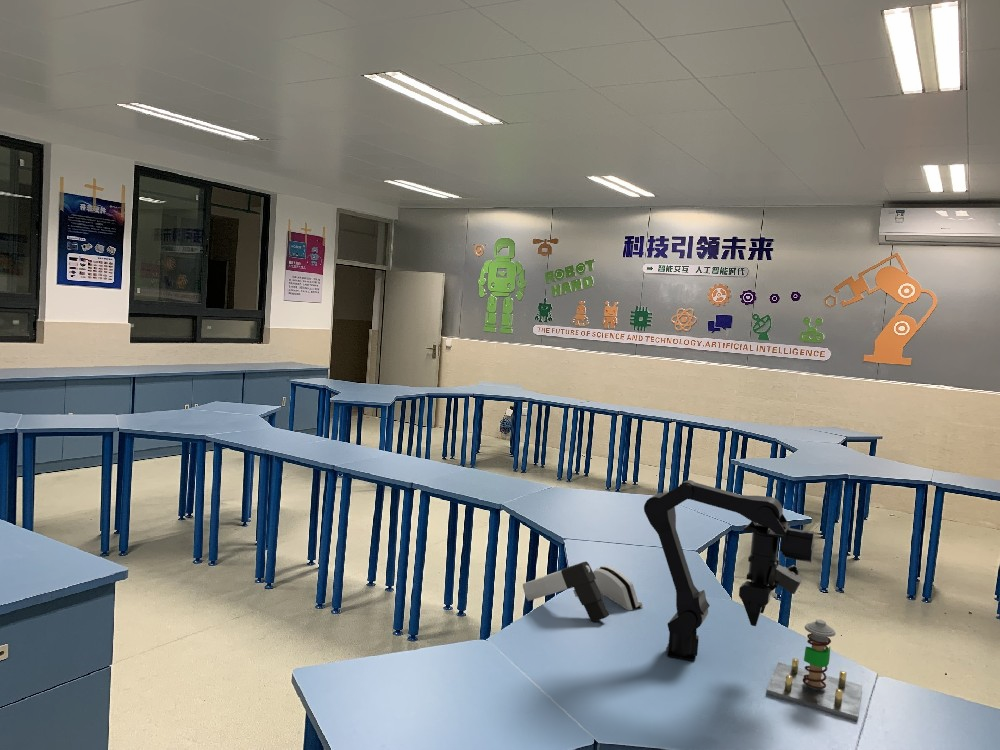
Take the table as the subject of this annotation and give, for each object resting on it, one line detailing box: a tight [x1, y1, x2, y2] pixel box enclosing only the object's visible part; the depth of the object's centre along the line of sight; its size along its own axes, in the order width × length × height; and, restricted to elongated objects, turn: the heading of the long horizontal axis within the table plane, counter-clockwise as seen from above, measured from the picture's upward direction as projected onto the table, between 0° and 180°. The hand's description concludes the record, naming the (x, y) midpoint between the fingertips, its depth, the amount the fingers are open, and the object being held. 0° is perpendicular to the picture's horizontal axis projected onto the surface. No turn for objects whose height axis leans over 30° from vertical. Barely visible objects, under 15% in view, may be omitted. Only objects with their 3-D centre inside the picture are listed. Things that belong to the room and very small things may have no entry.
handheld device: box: [522, 561, 610, 622], centre depth 199 cm, size 4×22×15 cm, turn 55°
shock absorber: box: [803, 619, 837, 690], centre depth 161 cm, size 6×6×15 cm
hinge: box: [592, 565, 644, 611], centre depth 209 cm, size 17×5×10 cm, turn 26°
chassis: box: [765, 657, 863, 723], centre depth 162 cm, size 18×16×4 cm
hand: (757, 619), depth 168 cm, fingers open, 9 cm apart
